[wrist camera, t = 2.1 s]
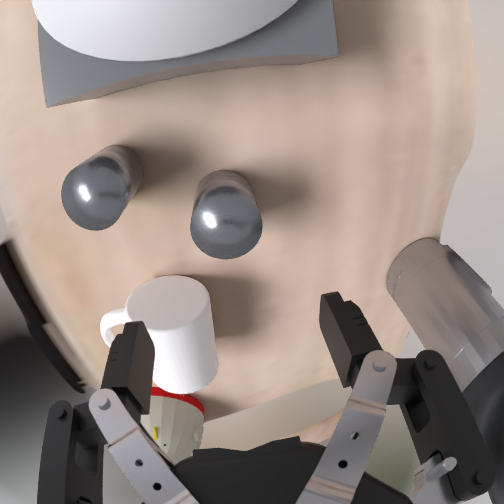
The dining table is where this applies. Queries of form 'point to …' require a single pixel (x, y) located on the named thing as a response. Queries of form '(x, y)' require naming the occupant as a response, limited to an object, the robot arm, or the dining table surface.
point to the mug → (173, 330)
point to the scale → (171, 40)
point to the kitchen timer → (174, 423)
